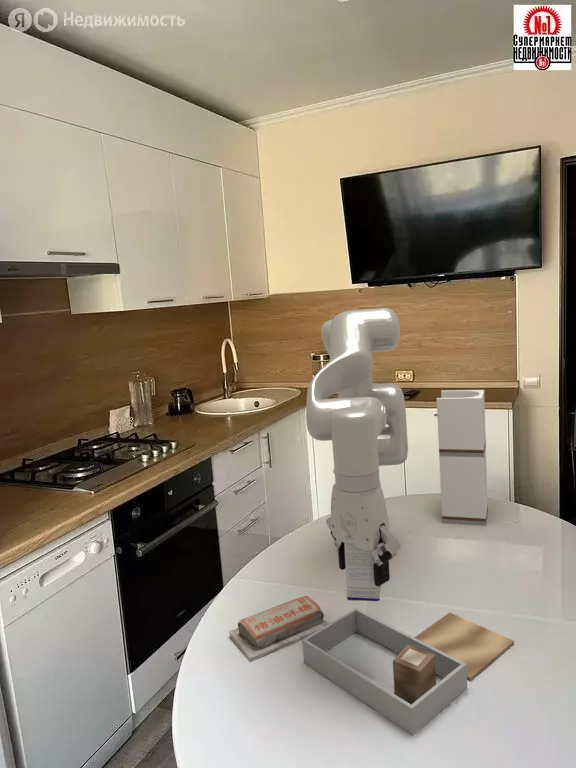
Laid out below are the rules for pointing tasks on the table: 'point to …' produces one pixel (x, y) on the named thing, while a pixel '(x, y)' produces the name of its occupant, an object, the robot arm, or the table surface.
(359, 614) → the grey bin
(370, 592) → the supplement box
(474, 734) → the table surface
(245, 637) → the packaged product
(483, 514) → the tall striped box
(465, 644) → the cork mat
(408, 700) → the walnut block
